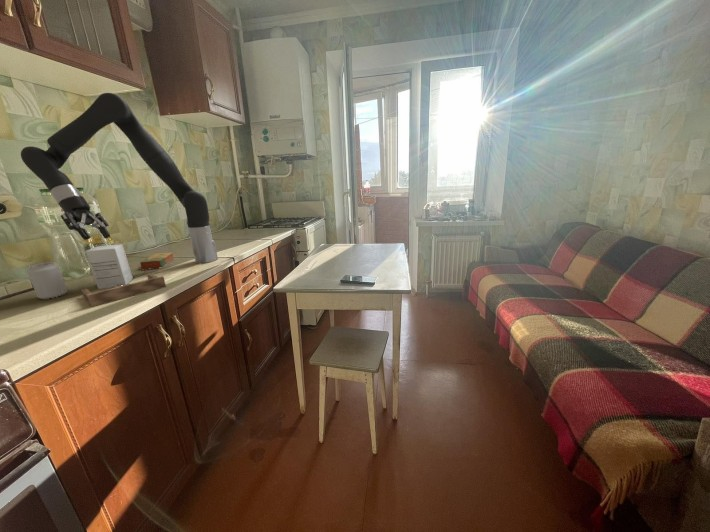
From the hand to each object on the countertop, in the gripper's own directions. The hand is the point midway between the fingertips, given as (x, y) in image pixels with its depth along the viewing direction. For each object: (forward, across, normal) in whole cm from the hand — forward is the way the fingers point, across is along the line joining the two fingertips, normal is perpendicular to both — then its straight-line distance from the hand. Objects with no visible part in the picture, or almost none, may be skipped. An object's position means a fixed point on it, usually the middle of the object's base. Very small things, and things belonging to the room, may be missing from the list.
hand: (98, 238), depth 106 cm
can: (+13, -10, +19) cm, 25 cm away
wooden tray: (+23, -8, -3) cm, 25 cm away
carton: (+15, +27, +4) cm, 31 cm away
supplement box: (+18, 0, +5) cm, 19 cm away
